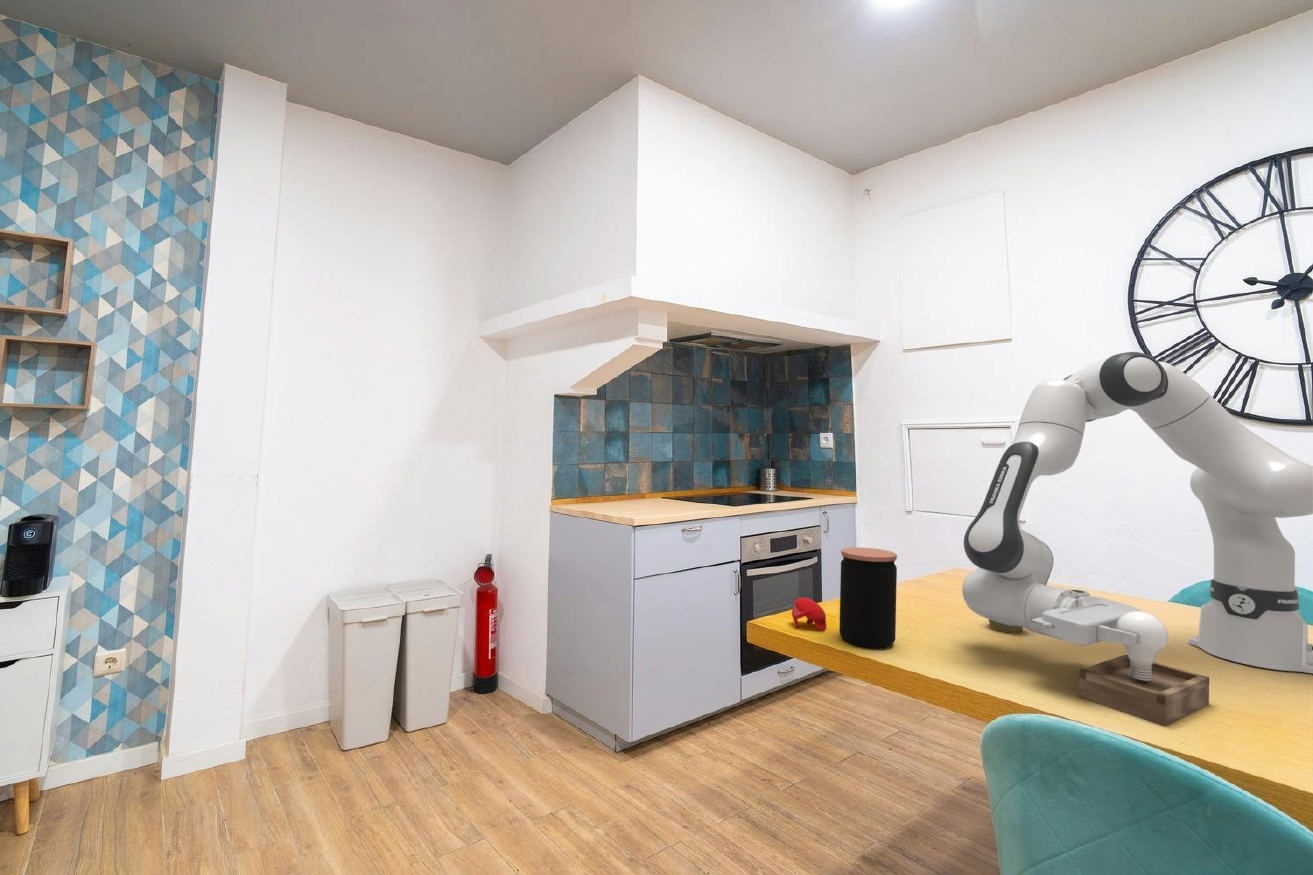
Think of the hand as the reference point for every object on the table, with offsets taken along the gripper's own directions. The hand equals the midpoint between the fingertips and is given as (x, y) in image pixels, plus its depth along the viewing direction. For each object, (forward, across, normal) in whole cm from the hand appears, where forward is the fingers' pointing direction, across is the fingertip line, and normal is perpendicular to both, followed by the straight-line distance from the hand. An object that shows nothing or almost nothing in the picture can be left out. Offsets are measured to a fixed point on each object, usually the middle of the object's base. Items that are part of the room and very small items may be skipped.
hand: (1151, 635), depth 92 cm
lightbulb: (-1, -1, +8) cm, 8 cm away
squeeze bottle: (-32, +17, +11) cm, 38 cm away
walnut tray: (-1, 0, +10) cm, 11 cm away
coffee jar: (-40, -18, +11) cm, 45 cm away
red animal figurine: (-52, -22, +11) cm, 57 cm away
